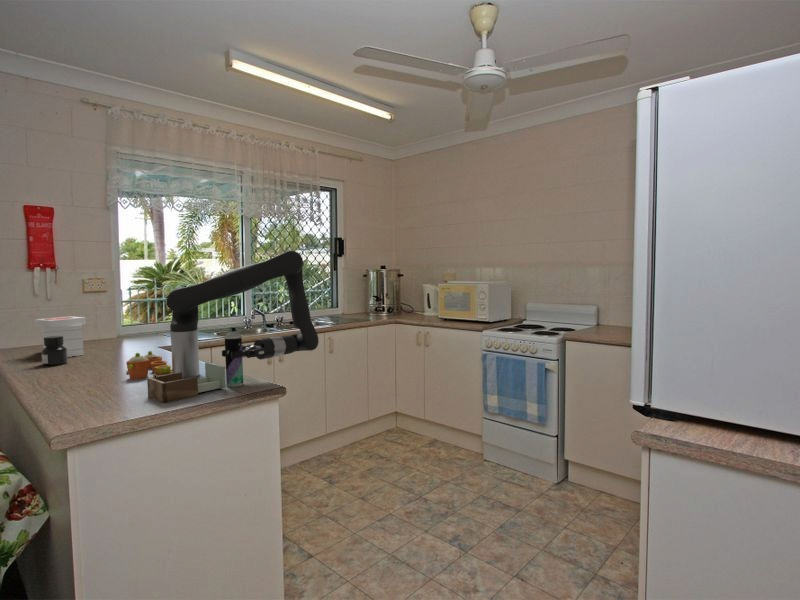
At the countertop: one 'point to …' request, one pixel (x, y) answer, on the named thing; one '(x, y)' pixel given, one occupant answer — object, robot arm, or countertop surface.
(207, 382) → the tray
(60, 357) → the ink bottle
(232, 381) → the spray can
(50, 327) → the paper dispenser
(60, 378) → the countertop surface
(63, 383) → the countertop surface
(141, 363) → the toy tea set
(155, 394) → the frame
